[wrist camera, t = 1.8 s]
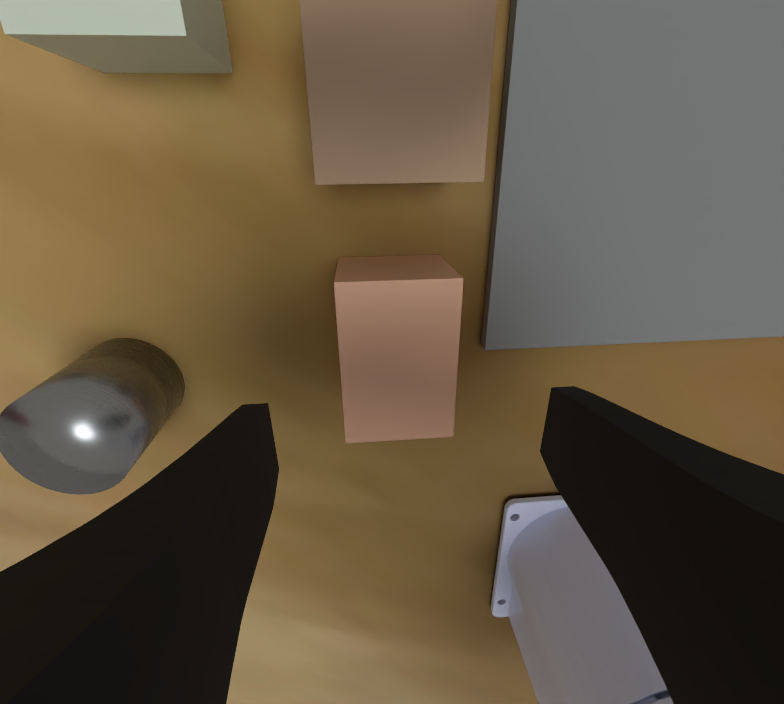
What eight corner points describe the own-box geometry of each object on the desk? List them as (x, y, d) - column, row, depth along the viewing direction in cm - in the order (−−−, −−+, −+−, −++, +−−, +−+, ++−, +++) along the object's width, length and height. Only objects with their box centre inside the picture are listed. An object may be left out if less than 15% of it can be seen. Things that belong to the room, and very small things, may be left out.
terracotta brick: (434, 384, 18) (453, 436, 15) (347, 388, 18) (345, 443, 15) (439, 253, 16) (463, 277, 12) (338, 256, 16) (334, 282, 12)
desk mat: (813, 329, 19) (827, 334, 18) (480, 344, 18) (485, 350, 17) (1037, -161, 12) (1069, -176, 12) (527, -187, 11) (536, -205, 10)
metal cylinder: (193, 417, 18) (146, 489, 14) (100, 422, 18) (24, 498, 14) (172, 335, 16) (111, 390, 12) (69, 340, 16) (-28, 397, 12)
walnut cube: (448, 179, 15) (483, 181, 11) (326, 181, 15) (315, 184, 10) (454, 28, 13) (500, -38, 9) (315, 27, 13) (295, -43, 9)
